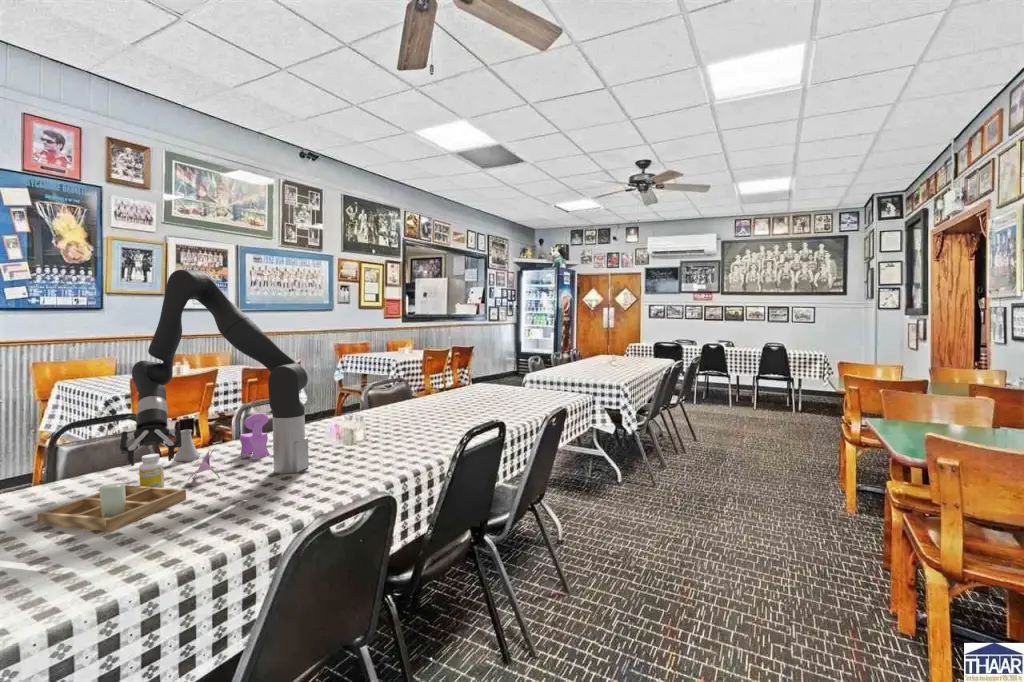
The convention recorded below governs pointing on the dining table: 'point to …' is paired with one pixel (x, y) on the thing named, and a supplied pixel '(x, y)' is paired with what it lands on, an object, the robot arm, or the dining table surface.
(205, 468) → the lily
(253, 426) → the toy chair
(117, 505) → the cylinder
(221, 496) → the dining table surface
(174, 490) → the caddy
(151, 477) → the supplement bottle
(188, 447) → the flask
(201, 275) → the robot arm
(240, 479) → the dining table surface
